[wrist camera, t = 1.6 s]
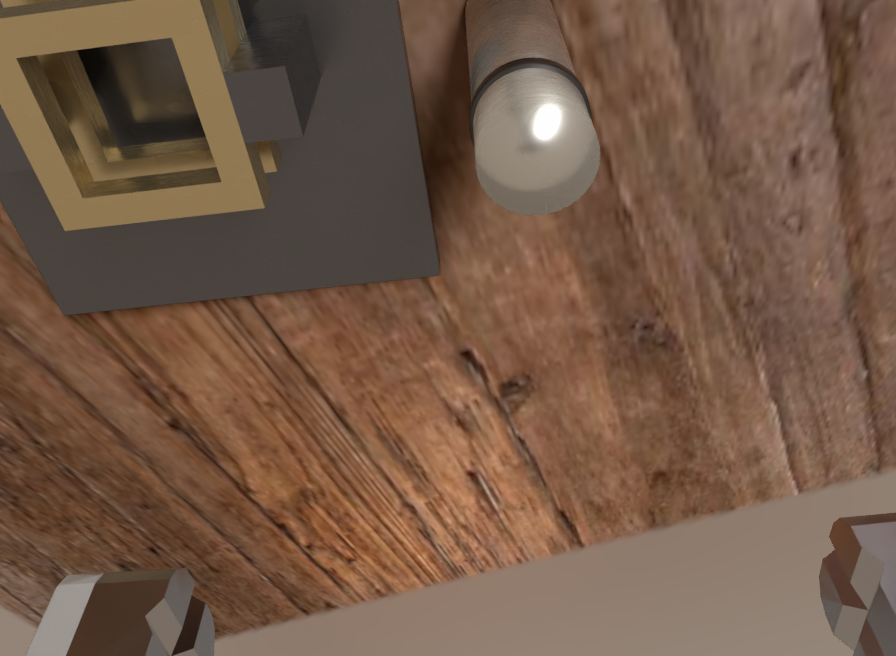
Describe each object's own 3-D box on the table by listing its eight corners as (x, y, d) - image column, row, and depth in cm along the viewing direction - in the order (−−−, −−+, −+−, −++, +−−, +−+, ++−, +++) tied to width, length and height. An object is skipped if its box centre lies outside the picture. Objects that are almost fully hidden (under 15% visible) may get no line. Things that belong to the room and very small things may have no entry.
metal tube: (457, -31, 29) (465, 107, 19) (551, -43, 28) (604, 90, 19) (467, 61, 31) (478, 225, 22) (554, 50, 31) (604, 211, 21)
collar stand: (-232, -260, 24) (-394, -245, 20) (341, -355, 23) (315, -365, 18) (71, 302, 38) (19, 390, 33) (440, 262, 37) (440, 348, 32)
